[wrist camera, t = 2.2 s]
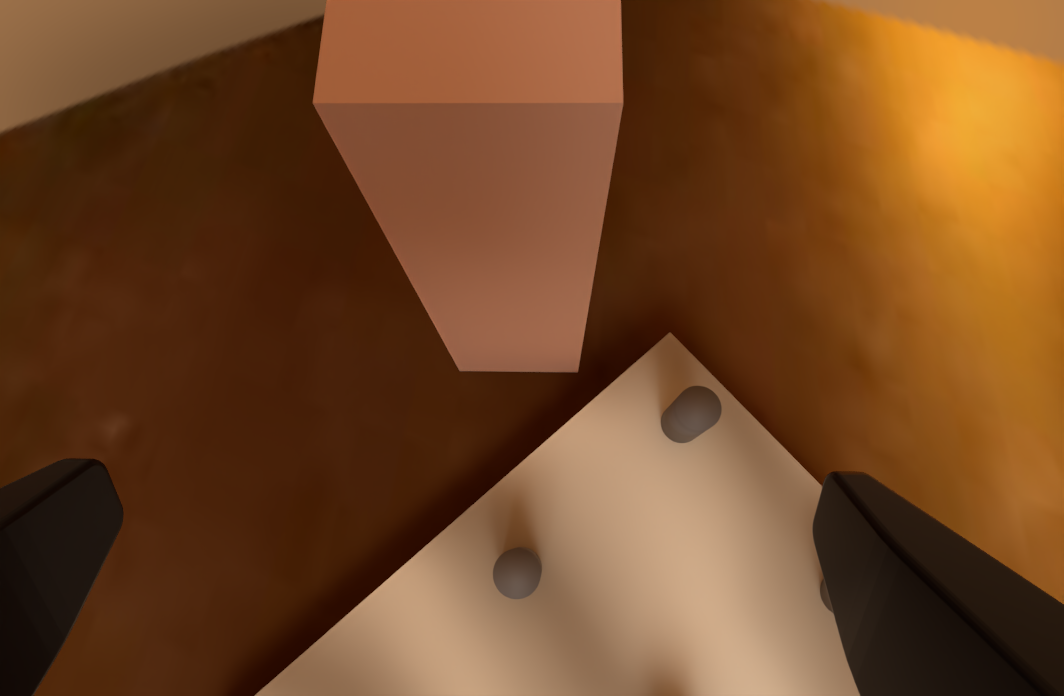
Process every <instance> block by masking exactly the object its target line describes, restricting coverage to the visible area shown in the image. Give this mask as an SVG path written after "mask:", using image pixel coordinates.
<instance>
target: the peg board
mask: <svg viewBox="0 0 1064 696" xmlns="http://www.w3.org/2000/svg"><path fill="white" fill-rule="evenodd" d="M821 490H822V486H821V485H820V484H819V483H818V482H817V481H816V480H815V479H814V478H813V477H812V476H811V475H810V474H809V473H808V472H807V471H806V470H805V469H804V468H803V467H802V465H801V464H800V463H799V462H798V461H797V460H796V459H795V458H794V457H793V456H792V455H791V454H790V453H789V452H788V451H787V450H786V449H785V448H784V447H783V446H782V445H781V444H780V443H779V442H778V441H777V440H776V439H775V438H774V437H773V436H772V435H771V434H770V433H769V432H768V431H767V430H766V429H765V428H764V427H763V426H762V425H761V424H760V423H759V422H758V421H757V420H756V419H755V418H754V417H753V416H752V415H751V414H750V413H749V412H748V411H747V410H746V409H745V408H744V407H743V406H742V405H741V404H740V403H739V402H738V401H737V400H736V399H735V398H734V397H733V395H732V394H731V393H730V392H729V391H728V390H727V389H726V388H725V387H724V386H723V385H722V384H721V383H720V382H719V381H718V380H717V379H716V378H715V377H714V376H713V375H712V374H711V373H710V372H709V371H708V370H707V369H706V368H705V367H704V366H703V365H702V364H701V363H700V362H699V361H698V360H697V359H696V358H695V357H694V356H693V355H692V354H691V353H690V352H689V351H688V350H687V349H686V348H685V347H684V346H683V345H682V344H681V343H680V342H679V341H678V340H677V339H676V338H675V337H674V336H673V335H672V334H671V333H668V334H667V335H666V336H665V337H664V338H663V339H662V340H660V341H659V342H658V343H657V344H656V345H655V346H654V347H652V348H651V349H650V350H649V351H648V352H647V353H646V354H644V355H643V356H642V357H641V358H640V359H639V360H638V361H636V362H635V363H634V364H633V365H632V366H631V367H630V368H628V369H627V370H626V371H625V372H624V373H623V374H622V375H620V376H619V377H618V378H617V379H616V380H615V381H614V382H612V383H611V384H610V385H609V386H608V387H607V388H606V389H604V390H603V391H602V392H601V393H600V394H599V395H598V396H596V397H595V398H594V399H593V400H592V401H591V402H590V403H588V404H587V405H586V406H585V407H584V408H583V409H582V410H580V411H579V412H578V413H577V414H576V415H575V416H574V417H572V418H571V419H570V420H569V421H568V422H567V423H566V424H564V425H563V426H562V427H561V428H560V429H559V430H558V431H556V432H555V433H554V434H553V435H552V436H551V437H550V438H548V439H547V440H546V441H545V442H544V443H543V444H542V445H540V446H539V447H538V448H537V449H536V450H535V451H534V452H532V453H531V454H530V455H529V456H528V457H527V458H526V459H524V460H523V461H522V462H521V463H520V464H519V465H518V466H516V467H515V468H514V469H513V470H512V471H511V472H510V473H508V474H507V475H506V476H505V477H504V478H503V479H502V480H500V481H499V482H498V483H497V484H496V485H495V486H494V487H492V488H491V489H490V490H489V491H488V492H487V493H486V494H484V495H483V496H482V497H481V498H480V499H479V500H478V501H476V502H475V503H474V504H473V505H472V506H471V507H470V508H468V509H467V510H466V511H465V512H464V513H463V514H462V515H460V516H459V517H458V518H457V519H456V520H455V521H454V522H452V523H451V524H450V525H449V526H448V527H447V528H446V529H444V530H443V531H442V532H441V533H440V534H439V535H438V536H436V537H435V538H434V539H433V540H432V541H431V542H430V543H428V544H427V545H426V546H425V547H424V548H423V549H422V550H420V551H419V552H418V553H417V554H416V555H415V556H414V557H412V558H411V559H410V560H409V561H408V562H407V563H406V564H404V565H403V566H402V567H401V568H400V569H399V570H398V571H396V572H395V573H394V574H393V575H392V576H391V577H390V578H388V579H387V580H386V581H385V582H384V583H383V584H382V585H380V586H379V587H378V588H377V589H376V590H375V591H374V592H372V593H371V594H370V595H369V596H368V597H367V598H366V599H364V600H363V601H362V602H361V603H360V604H359V605H358V606H356V607H355V608H354V609H353V610H352V611H351V612H350V613H348V614H347V615H346V616H345V617H344V618H343V619H342V620H340V621H339V622H338V623H337V624H336V625H335V626H334V627H332V628H331V629H330V630H329V631H328V632H327V633H326V634H324V635H323V636H322V637H321V638H320V639H319V640H318V641H316V642H315V643H314V644H313V645H312V646H311V647H310V648H308V649H307V650H306V651H305V652H304V653H303V654H302V655H300V656H299V657H298V658H297V659H296V660H295V661H294V662H292V663H291V664H290V665H289V666H288V667H287V668H286V669H284V670H283V671H282V672H281V673H280V674H279V675H278V676H276V677H275V678H274V679H273V680H272V681H271V682H270V683H268V684H267V685H266V686H265V687H264V688H263V689H262V690H260V691H259V692H258V693H257V694H256V695H255V696H860V694H859V692H858V689H857V687H856V684H855V682H854V679H853V676H852V673H851V671H850V668H849V665H848V662H847V660H846V656H845V653H844V650H843V646H842V643H841V640H840V636H839V632H838V629H837V625H836V621H835V618H834V614H833V610H832V607H831V603H830V600H829V596H828V592H827V589H826V585H825V581H824V578H823V574H822V570H821V567H820V563H819V559H818V556H817V552H816V548H815V545H814V541H813V534H812V525H813V519H814V515H815V512H816V508H817V504H818V501H819V497H820V493H821Z"/></svg>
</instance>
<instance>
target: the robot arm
mask: <svg viewBox="0 0 1064 696" xmlns="http://www.w3.org/2000/svg"><path fill="white" fill-rule="evenodd" d="M122 522H123V507H122V504H121V502H120V499H119V497H118V495H117V492H116V490H115V487H114V485H113V482H112V480H111V478H110V475H109V473H108V470H107V468H106V467H105V465H104V464H103V463H102V462H100V461H99V460H96V459H75V458H70V459H63V460H60V461H57V462H55V463H53V464H51V465H49V466H46V467H44V468H42V469H40V470H38V471H36V472H34V473H31V474H29V475H27V476H25V477H23V478H21V479H19V480H17V481H14V482H12V483H10V484H8V485H6V486H4V487H2V488H0V696H33V695H34V694H35V692H36V690H37V689H38V687H39V685H40V684H41V682H42V680H43V679H44V677H45V675H46V674H47V672H48V670H49V669H50V667H51V665H52V664H53V662H54V660H55V659H56V657H57V655H58V653H59V652H60V650H61V648H62V646H63V645H64V643H65V641H66V639H67V637H68V635H69V633H70V631H71V630H72V628H73V626H74V624H75V622H76V620H77V618H78V616H79V614H80V611H81V609H82V607H83V605H84V603H85V601H86V599H87V597H88V595H89V593H90V591H91V589H92V587H93V585H94V582H95V580H96V578H97V576H98V574H99V572H100V570H101V568H102V566H103V564H104V562H105V560H106V558H107V556H108V553H109V551H110V549H111V547H112V545H113V543H114V541H115V539H116V537H117V535H118V533H119V531H120V528H121V526H122ZM812 534H813V541H814V545H815V548H816V552H817V556H818V559H819V563H820V567H821V570H822V574H823V578H824V581H825V585H826V589H827V592H828V596H829V600H830V603H831V607H832V610H833V614H834V618H835V621H836V625H837V629H838V632H839V636H840V640H841V643H842V646H843V650H844V653H845V656H846V660H847V662H848V665H849V668H850V671H851V673H852V676H853V679H854V682H855V684H856V687H857V689H858V692H859V694H860V696H1064V604H1062V603H1061V602H1059V601H1058V600H1056V599H1055V598H1053V597H1052V596H1050V595H1049V594H1047V593H1046V592H1044V591H1043V590H1041V589H1040V588H1038V587H1037V586H1035V585H1034V584H1032V583H1031V582H1029V581H1028V580H1026V579H1025V578H1023V577H1022V576H1020V575H1019V574H1017V573H1016V572H1014V571H1013V570H1011V569H1010V568H1008V567H1007V566H1005V565H1004V564H1002V563H1001V562H999V561H998V560H996V559H995V558H993V557H992V556H990V555H989V554H987V553H986V552H984V551H983V550H981V549H980V548H978V547H977V546H975V545H974V544H972V543H971V542H969V541H968V540H966V539H965V538H963V537H962V536H960V535H959V534H957V533H956V532H954V531H953V530H951V529H950V528H948V527H947V526H945V525H944V524H942V523H941V522H939V521H938V520H936V519H935V518H933V517H932V516H930V515H929V514H927V513H926V512H924V511H923V510H921V509H920V508H918V507H917V506H915V505H914V504H912V503H911V502H909V501H908V500H906V499H905V498H903V497H902V496H900V495H899V494H897V493H896V492H894V491H893V490H891V489H890V488H888V487H887V486H885V485H884V484H882V483H881V482H879V481H878V480H876V479H875V478H873V477H872V476H870V475H868V474H866V473H864V472H845V471H834V472H831V473H829V474H828V475H827V476H826V478H825V480H824V483H823V486H822V490H821V493H820V497H819V501H818V504H817V508H816V512H815V515H814V519H813V525H812Z"/></svg>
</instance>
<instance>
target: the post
mask: <svg viewBox="0 0 1064 696" xmlns="http://www.w3.org/2000/svg"><path fill="white" fill-rule="evenodd" d="M313 105H314V107H315V108H316V110H317V112H318V114H319V116H320V117H321V119H322V121H323V123H324V125H325V127H326V128H327V130H328V132H329V134H330V136H331V138H332V139H333V141H334V143H335V145H336V147H337V148H338V150H339V152H340V154H341V156H342V158H343V159H344V161H345V163H346V165H347V167H348V169H349V170H350V172H351V174H352V176H353V178H354V179H355V181H356V183H357V185H358V187H359V189H360V190H361V192H362V194H363V196H364V198H365V200H366V201H367V203H368V205H369V207H370V209H371V210H372V212H373V214H374V216H375V218H376V220H377V221H378V223H379V225H380V227H381V229H382V231H383V232H384V234H385V236H386V238H387V240H388V241H389V243H390V245H391V247H392V249H393V251H394V252H395V254H396V256H397V258H398V260H399V262H400V263H401V265H402V267H403V269H404V271H405V272H406V274H407V276H408V278H409V280H410V282H411V283H412V285H413V287H414V289H415V291H416V292H417V294H418V296H419V298H420V300H421V302H422V303H423V305H424V307H425V309H426V311H427V313H428V314H429V316H430V318H431V320H432V322H433V323H434V325H435V327H436V329H437V331H438V333H439V334H440V336H441V338H442V340H443V342H444V344H445V345H446V347H447V349H448V351H449V353H450V354H451V356H452V358H453V360H454V362H455V364H456V365H457V367H458V369H459V371H503V372H578V368H579V362H580V356H581V350H582V344H583V338H584V332H585V326H586V321H587V315H588V309H589V303H590V297H591V291H592V285H593V279H594V273H595V267H596V261H597V255H598V250H599V244H600V238H601V232H602V226H603V220H604V214H605V208H606V202H607V196H608V190H609V185H610V179H611V173H612V167H613V161H614V155H615V149H616V143H617V137H618V131H619V125H620V119H621V114H622V108H623V70H622V29H621V0H327V1H326V9H325V16H324V23H323V31H322V38H321V46H320V53H319V60H318V68H317V75H316V82H315V90H314V97H313Z"/></svg>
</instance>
